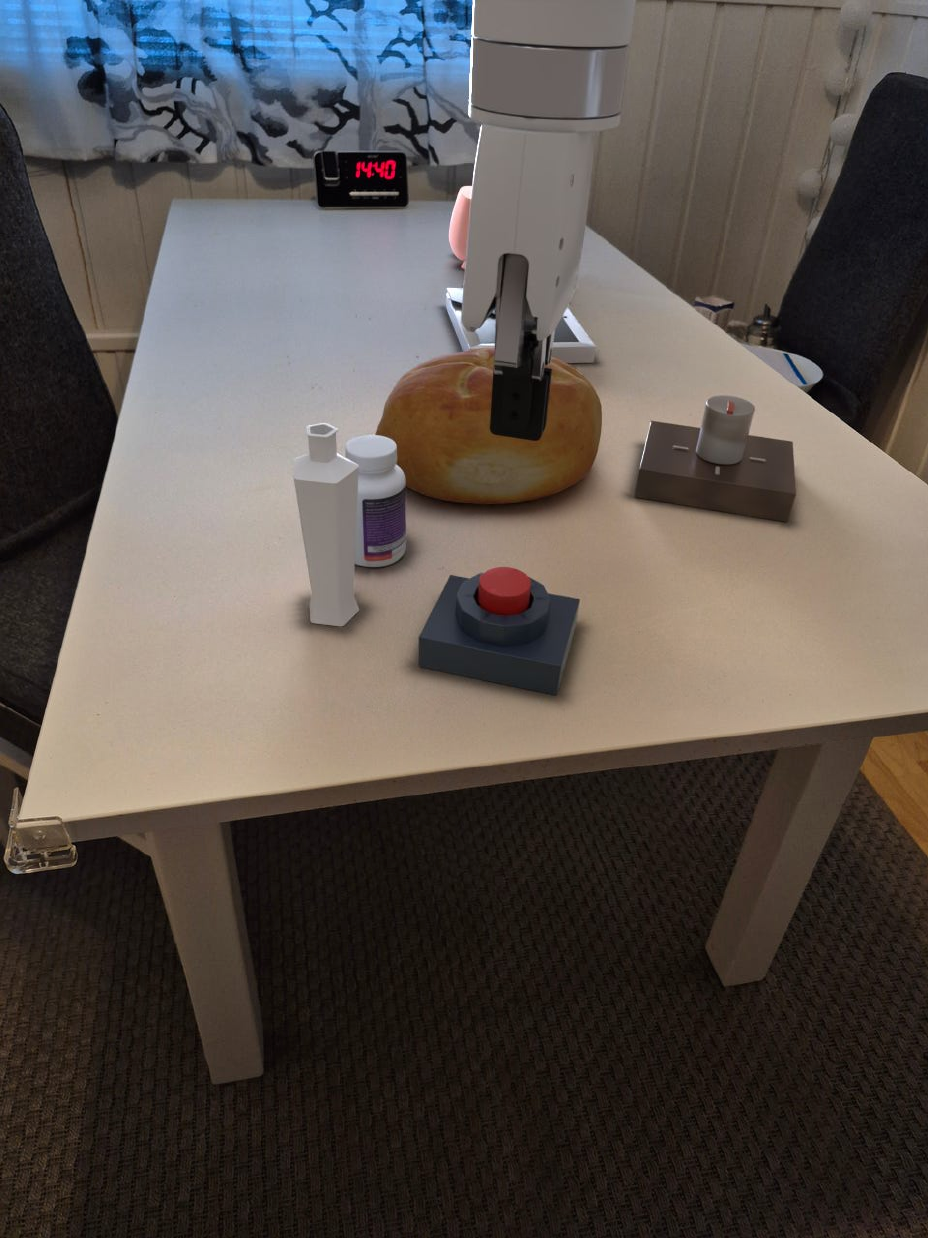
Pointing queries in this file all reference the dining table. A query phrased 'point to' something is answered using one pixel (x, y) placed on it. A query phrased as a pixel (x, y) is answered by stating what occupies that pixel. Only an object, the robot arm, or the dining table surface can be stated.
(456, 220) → the teapot
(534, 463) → the bread
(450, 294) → the picture frame
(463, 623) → the button box
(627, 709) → the dining table surface
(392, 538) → the pill bottle
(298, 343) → the dining table surface
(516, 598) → the button
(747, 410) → the knob
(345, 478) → the perfume bottle
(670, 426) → the dial panel
